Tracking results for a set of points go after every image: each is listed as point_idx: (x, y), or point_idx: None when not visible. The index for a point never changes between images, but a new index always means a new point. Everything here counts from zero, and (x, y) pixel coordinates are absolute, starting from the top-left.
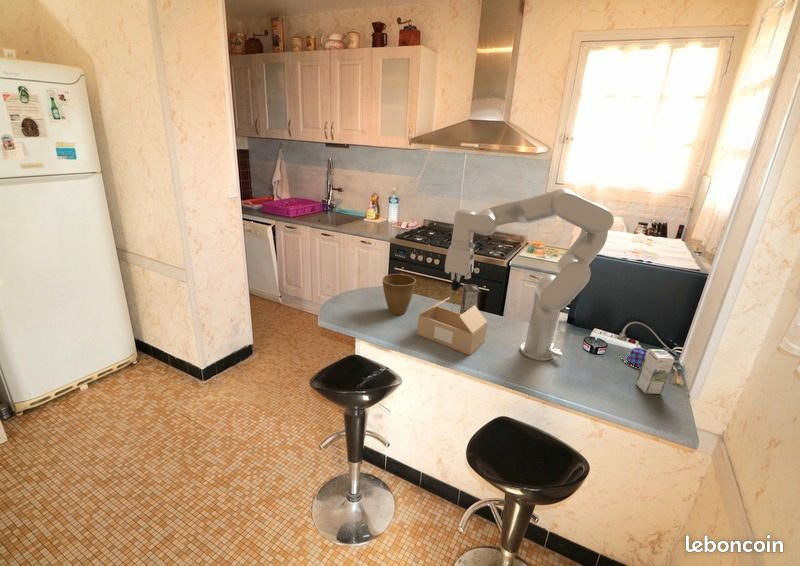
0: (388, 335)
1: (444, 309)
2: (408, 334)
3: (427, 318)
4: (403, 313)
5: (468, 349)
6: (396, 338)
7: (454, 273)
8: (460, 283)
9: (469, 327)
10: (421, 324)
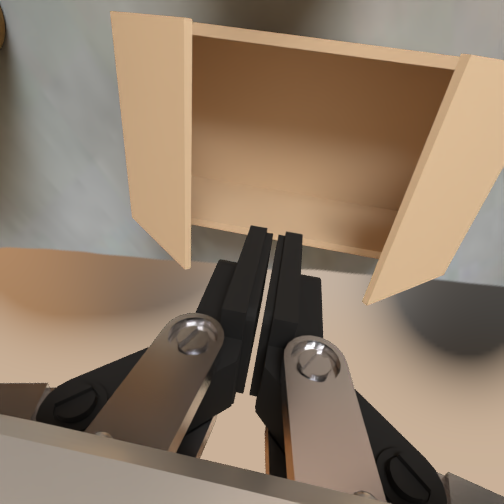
0: (108, 230)
1: (195, 34)
2: None
3: None
4: (2, 21)
5: None
6: (139, 234)
7: (133, 410)
8: (320, 327)
9: (427, 275)
10: None
